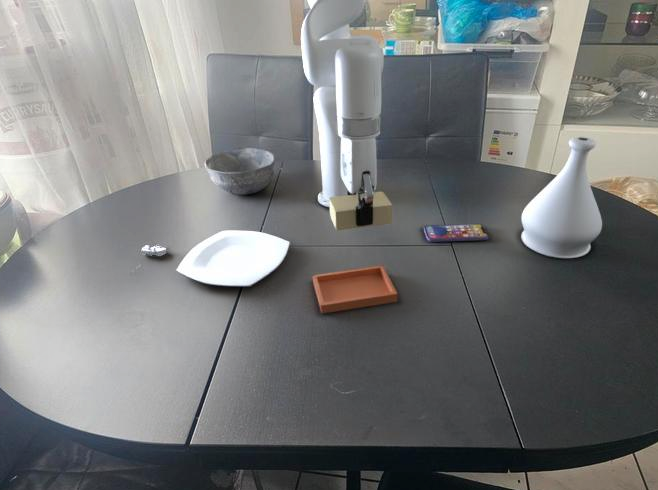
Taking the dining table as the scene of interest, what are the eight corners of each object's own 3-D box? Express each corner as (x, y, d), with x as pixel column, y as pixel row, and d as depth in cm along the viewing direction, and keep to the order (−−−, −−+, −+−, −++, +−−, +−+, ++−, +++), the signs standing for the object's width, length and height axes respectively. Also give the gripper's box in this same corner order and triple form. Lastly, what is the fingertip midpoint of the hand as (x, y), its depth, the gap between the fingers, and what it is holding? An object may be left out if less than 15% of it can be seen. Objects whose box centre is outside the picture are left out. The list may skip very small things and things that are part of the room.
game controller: (170, 247, 110) (168, 238, 109) (156, 274, 101) (153, 265, 99) (147, 248, 110) (144, 239, 109) (130, 275, 101) (127, 266, 99)
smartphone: (422, 228, 115) (480, 226, 115) (427, 242, 109) (489, 240, 109) (423, 225, 114) (481, 223, 115) (428, 239, 108) (489, 237, 108)
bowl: (260, 208, 127) (256, 175, 121) (197, 201, 132) (190, 169, 126) (288, 180, 143) (285, 149, 138) (231, 174, 148) (226, 145, 143)
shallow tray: (313, 283, 97) (312, 275, 95) (382, 273, 99) (382, 265, 98) (321, 313, 88) (320, 305, 87) (397, 301, 90) (397, 293, 89)
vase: (504, 228, 114) (523, 130, 100) (565, 220, 117) (593, 123, 102) (542, 265, 100) (571, 156, 86) (611, 254, 103) (650, 148, 88)
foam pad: (330, 215, 90) (329, 197, 88) (382, 209, 92) (382, 191, 90) (336, 230, 85) (335, 211, 83) (391, 223, 87) (392, 204, 85)
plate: (255, 301, 92) (253, 293, 91) (163, 280, 99) (161, 273, 98) (302, 245, 110) (301, 238, 108) (222, 231, 117) (220, 225, 115)
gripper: (328, 113, 84) (333, 200, 94) (348, 142, 70) (351, 240, 80) (367, 110, 86) (367, 196, 96) (394, 137, 72) (391, 234, 82)
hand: (359, 215), depth 88 cm, fingers closed on foam pad, 6 cm apart
